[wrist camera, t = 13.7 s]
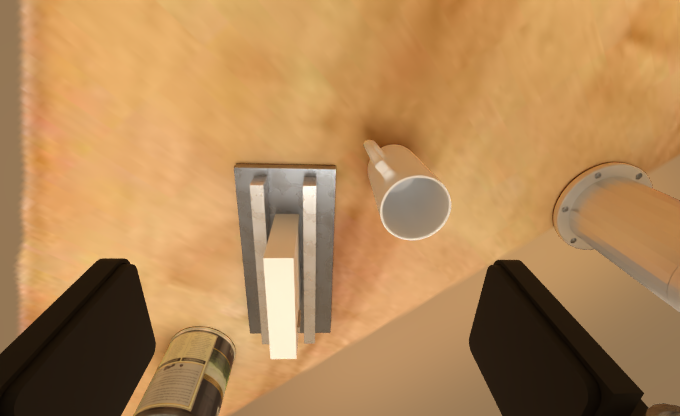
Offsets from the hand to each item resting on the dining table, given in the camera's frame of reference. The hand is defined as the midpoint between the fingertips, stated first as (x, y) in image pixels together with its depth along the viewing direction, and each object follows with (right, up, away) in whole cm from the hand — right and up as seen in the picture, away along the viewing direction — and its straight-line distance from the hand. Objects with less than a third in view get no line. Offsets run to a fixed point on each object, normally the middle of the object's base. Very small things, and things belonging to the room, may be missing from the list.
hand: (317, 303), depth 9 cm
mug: (+6, +9, +33) cm, 35 cm away
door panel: (-6, -5, +37) cm, 38 cm away
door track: (-6, -4, +38) cm, 39 cm away
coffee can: (-21, -20, +45) cm, 54 cm away
